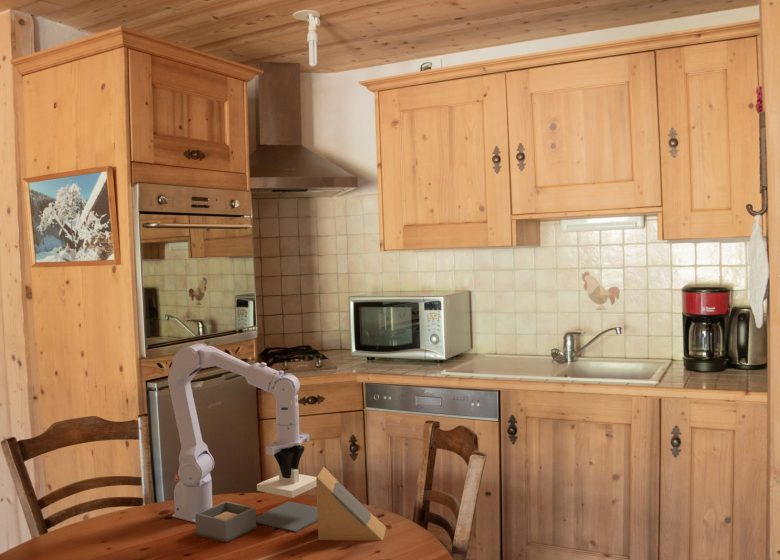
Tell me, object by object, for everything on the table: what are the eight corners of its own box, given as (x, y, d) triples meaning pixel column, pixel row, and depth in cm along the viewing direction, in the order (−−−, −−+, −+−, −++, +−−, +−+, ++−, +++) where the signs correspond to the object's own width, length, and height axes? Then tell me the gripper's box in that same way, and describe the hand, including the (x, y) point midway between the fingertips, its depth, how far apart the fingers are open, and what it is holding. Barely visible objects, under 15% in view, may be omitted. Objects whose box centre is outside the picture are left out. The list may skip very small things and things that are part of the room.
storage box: (196, 534, 168) (195, 514, 168) (226, 520, 177) (225, 501, 177) (226, 542, 163) (225, 521, 163) (256, 528, 171) (255, 507, 171)
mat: (249, 521, 176) (249, 519, 176) (288, 502, 189) (288, 501, 189) (296, 532, 168) (296, 530, 168) (333, 512, 181) (333, 510, 181)
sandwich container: (383, 541, 162) (381, 477, 161) (317, 540, 163) (315, 477, 163) (387, 527, 170) (385, 465, 170) (324, 526, 172) (322, 465, 171)
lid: (257, 490, 176) (256, 472, 176) (286, 477, 186) (286, 460, 186) (292, 497, 170) (291, 478, 170) (321, 484, 180) (320, 466, 180)
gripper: (280, 431, 169) (282, 487, 169) (317, 418, 181) (319, 470, 182) (258, 428, 173) (260, 482, 173) (296, 415, 185) (298, 466, 185)
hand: (289, 476), depth 178 cm, fingers closed on lid, 2 cm apart
